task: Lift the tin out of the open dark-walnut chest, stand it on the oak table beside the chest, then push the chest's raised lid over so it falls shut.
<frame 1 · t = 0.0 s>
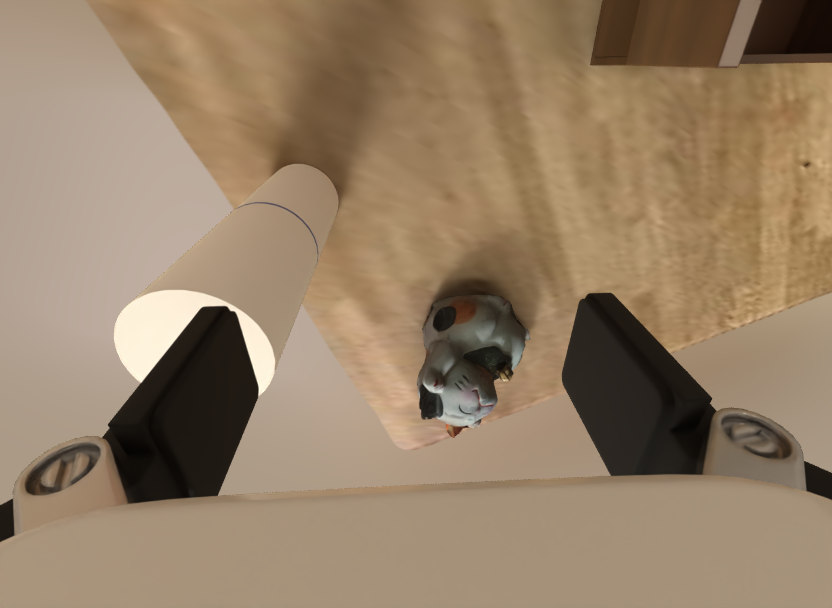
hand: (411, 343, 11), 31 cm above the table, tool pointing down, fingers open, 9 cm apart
cylindrical container: (303, 199, 40), on the table
lucky cat figurine: (468, 335, 50), on the table
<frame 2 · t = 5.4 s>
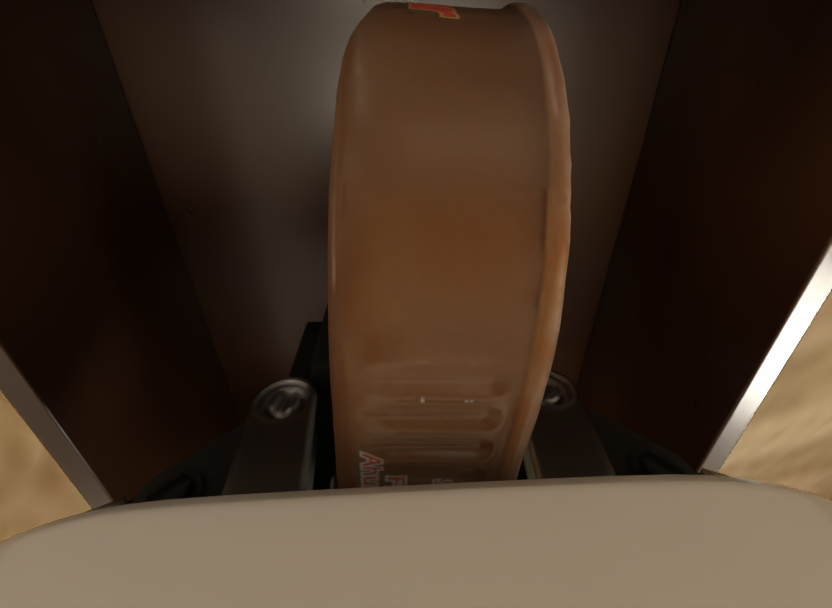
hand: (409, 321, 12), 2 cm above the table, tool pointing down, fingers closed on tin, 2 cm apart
chest: (404, 283, 14), on the table
tin: (399, 290, 13), resting on chest, touching gripper
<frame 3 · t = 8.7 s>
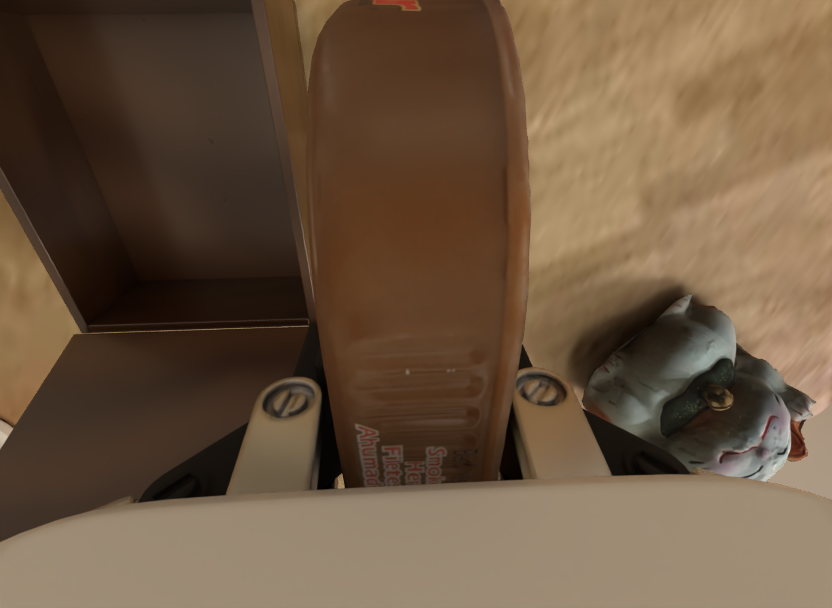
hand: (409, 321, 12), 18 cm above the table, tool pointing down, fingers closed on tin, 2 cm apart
chest: (204, 166, 26), on the table
tin: (398, 278, 14), point 16 cm above the table, touching gripper
lucky cat figurine: (654, 353, 37), on the table
lid: (140, 484, 19), point 16 cm above the table, hinge at 108.0°
when the fingers open (2 cm above the table, at t = 12.2 s): tin stays where it is, on the table.
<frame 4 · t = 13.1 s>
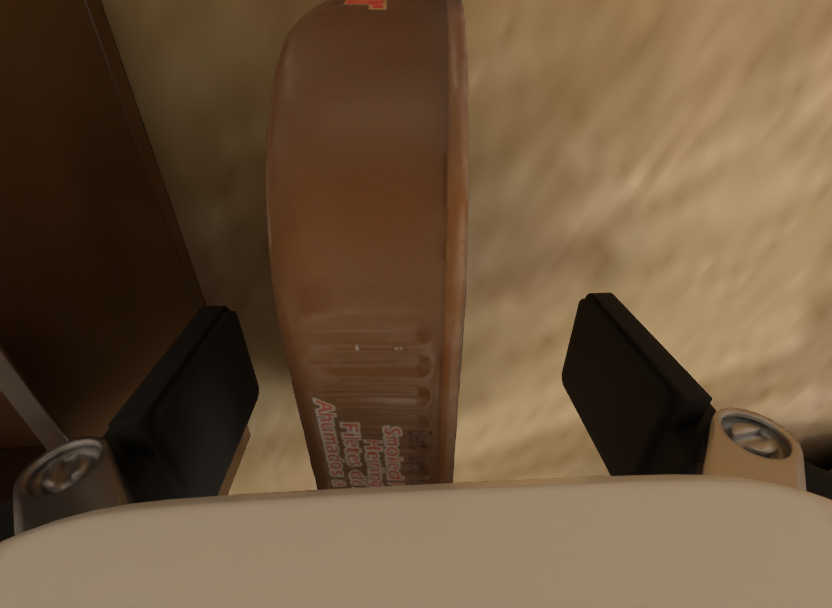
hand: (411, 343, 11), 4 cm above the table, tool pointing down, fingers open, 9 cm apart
tin: (396, 274, 14), on the table
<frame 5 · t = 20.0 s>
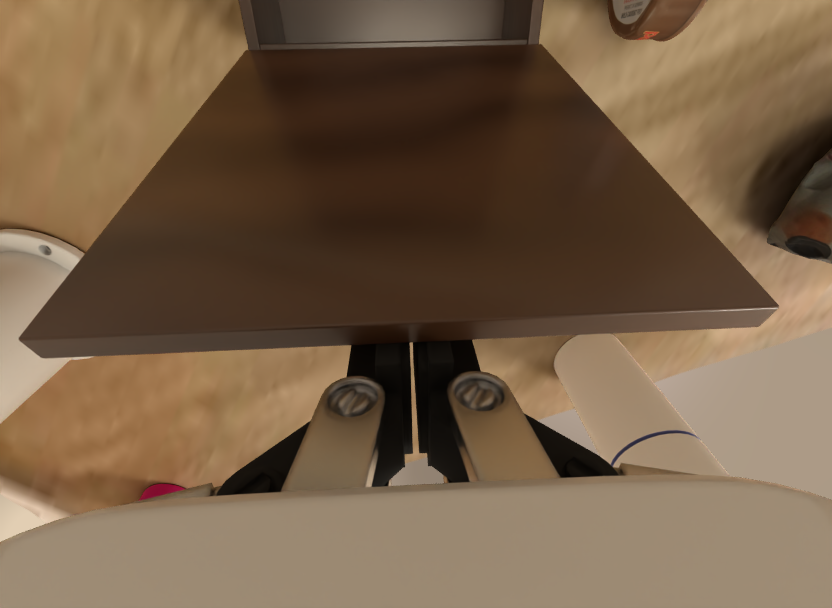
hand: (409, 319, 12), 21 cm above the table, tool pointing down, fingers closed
cylindrical container: (587, 357, 41), on the table
pepper mill: (171, 496, 50), on the table
lid: (399, 133, 14), point 16 cm above the table, hinge at 106.4°
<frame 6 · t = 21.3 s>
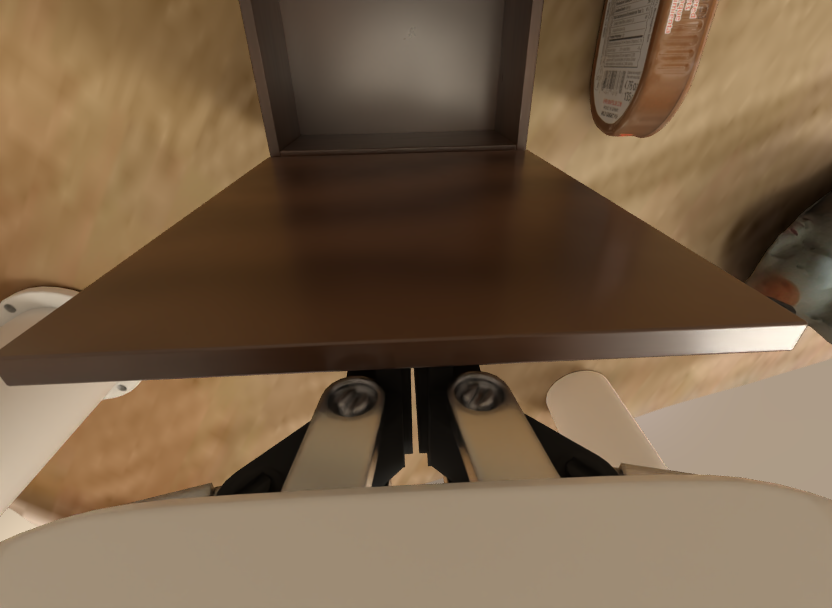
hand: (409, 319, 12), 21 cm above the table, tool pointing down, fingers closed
cylindrical container: (577, 393, 44), on the table
tin: (617, 2, 25), on the table
lucky cat figurine: (813, 237, 35), on the table
lid: (402, 206, 15), point 16 cm above the table, hinge at 89.7°, touching gripper
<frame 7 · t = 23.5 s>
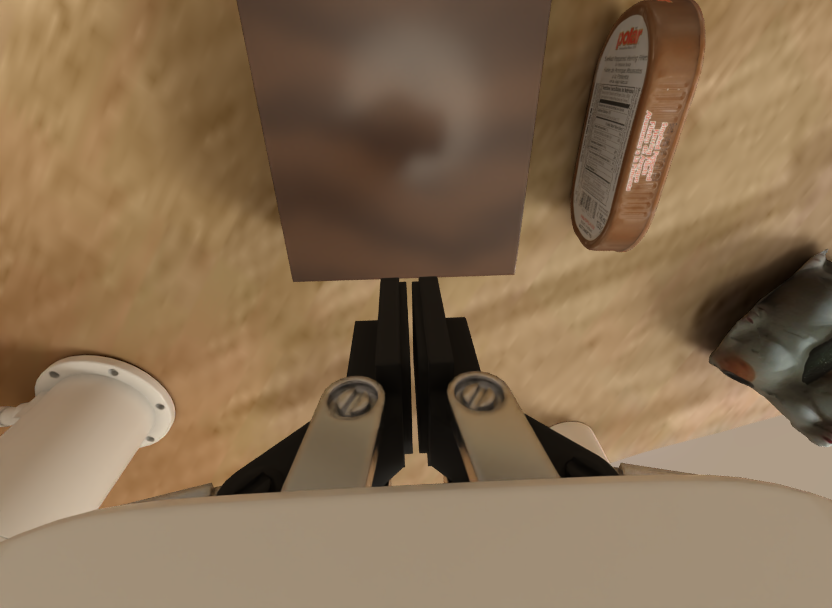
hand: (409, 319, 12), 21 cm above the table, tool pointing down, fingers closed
cylindrical container: (563, 440, 48), on the table
tin: (593, 132, 29), on the table
lucky cat figurine: (774, 312, 39), on the table
lid: (400, 133, 22), point 7 cm above the table, hinge at -0.1°
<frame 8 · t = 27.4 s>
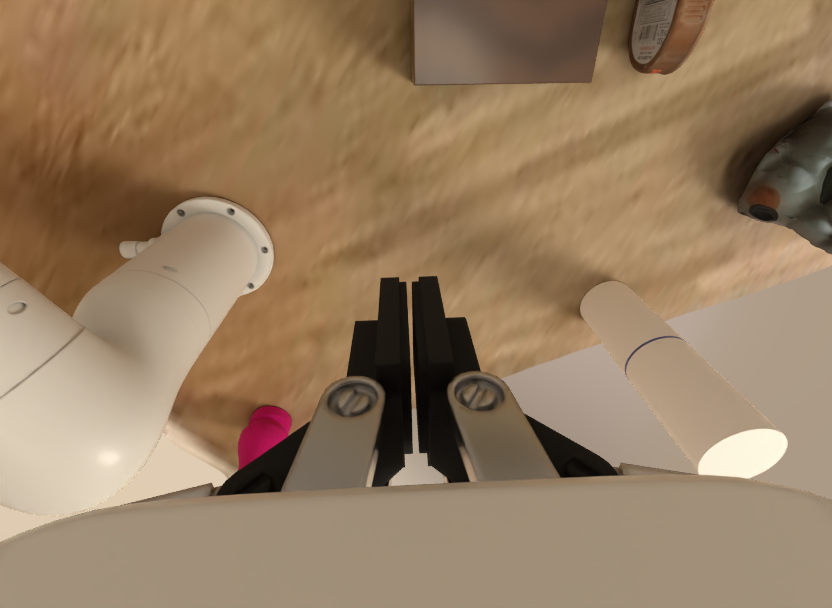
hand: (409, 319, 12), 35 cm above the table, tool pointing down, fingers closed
cylindrical container: (605, 302, 54), on the table
lucky cat figurine: (793, 166, 46), on the table
pepper mill: (272, 418, 63), on the table
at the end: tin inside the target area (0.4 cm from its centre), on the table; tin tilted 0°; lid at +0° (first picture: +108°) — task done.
